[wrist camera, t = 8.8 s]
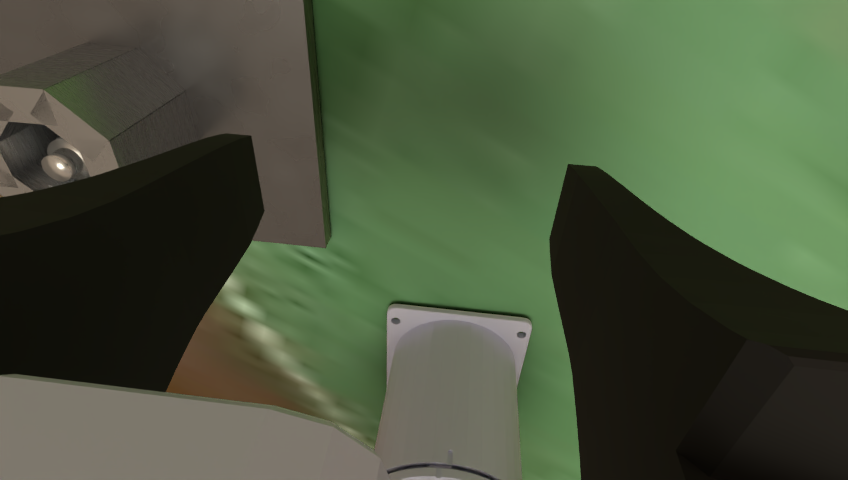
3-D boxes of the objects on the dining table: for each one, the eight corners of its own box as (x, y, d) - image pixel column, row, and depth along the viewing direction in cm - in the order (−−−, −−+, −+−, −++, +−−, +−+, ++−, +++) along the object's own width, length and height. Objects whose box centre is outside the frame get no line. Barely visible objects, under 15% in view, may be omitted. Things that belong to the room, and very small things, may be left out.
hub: (206, 173, 22) (144, 235, 18) (94, 162, 22) (7, 221, 18) (175, 50, 19) (91, 93, 15) (45, 40, 19) (-72, 79, 15)
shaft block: (331, 236, 25) (295, 314, 20) (35, 206, 26) (-63, 275, 21) (309, -30, 18) (247, -2, 13) (-98, -58, 19) (-290, -41, 14)
